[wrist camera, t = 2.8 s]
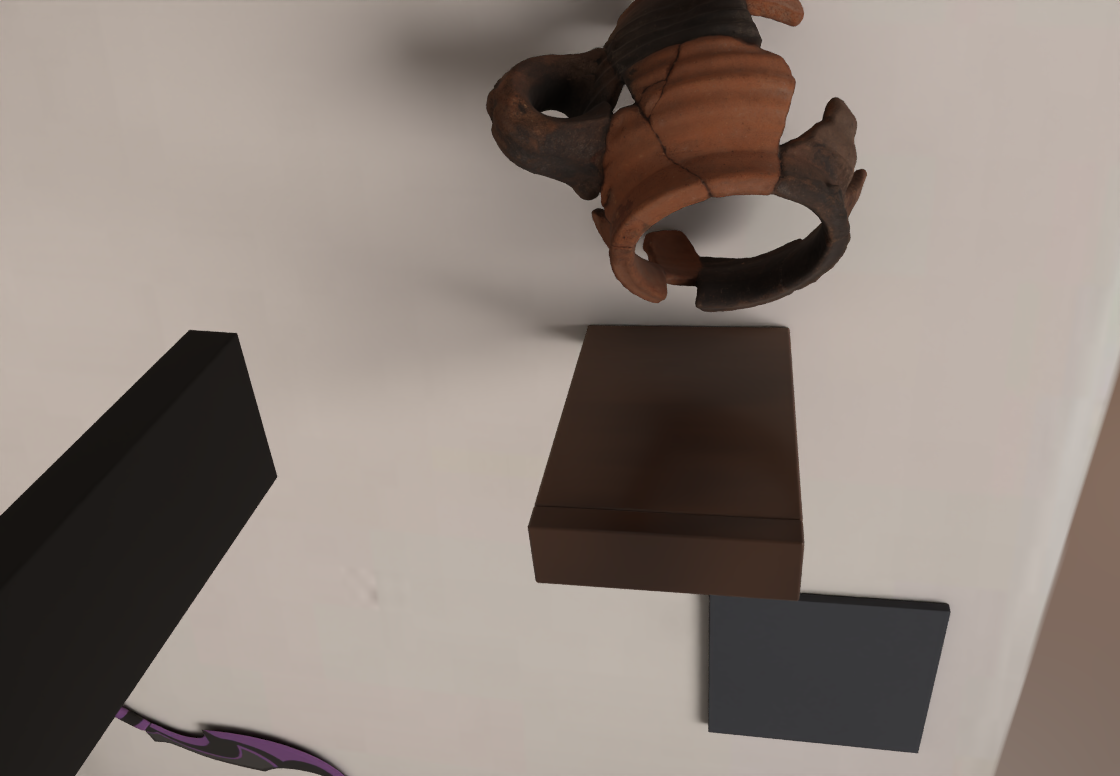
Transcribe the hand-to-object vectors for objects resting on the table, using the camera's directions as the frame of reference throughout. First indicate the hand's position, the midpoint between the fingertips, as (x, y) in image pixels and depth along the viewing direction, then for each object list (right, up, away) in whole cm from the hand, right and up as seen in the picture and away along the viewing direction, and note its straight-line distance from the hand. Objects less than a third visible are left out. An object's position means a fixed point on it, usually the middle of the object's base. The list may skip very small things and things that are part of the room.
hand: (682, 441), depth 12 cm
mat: (+12, -14, +33) cm, 37 cm away
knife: (-25, -23, +47) cm, 58 cm away
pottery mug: (+3, +10, +18) cm, 21 cm away
